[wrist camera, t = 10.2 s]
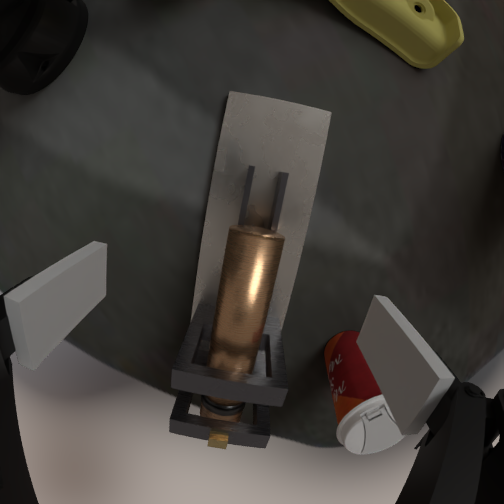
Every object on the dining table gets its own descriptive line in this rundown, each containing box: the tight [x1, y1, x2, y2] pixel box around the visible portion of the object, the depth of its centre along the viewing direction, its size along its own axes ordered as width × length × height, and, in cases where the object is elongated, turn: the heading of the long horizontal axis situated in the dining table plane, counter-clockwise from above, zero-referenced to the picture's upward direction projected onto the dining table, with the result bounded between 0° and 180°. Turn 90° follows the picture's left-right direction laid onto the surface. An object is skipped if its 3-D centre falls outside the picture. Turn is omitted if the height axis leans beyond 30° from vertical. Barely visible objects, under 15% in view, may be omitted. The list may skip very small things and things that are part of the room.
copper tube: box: [200, 225, 285, 423], centre depth 26 cm, size 20×5×5 cm, turn 169°
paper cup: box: [324, 331, 406, 454], centre depth 27 cm, size 8×8×14 cm
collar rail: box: [169, 91, 331, 449], centre depth 24 cm, size 32×10×13 cm, turn 169°
